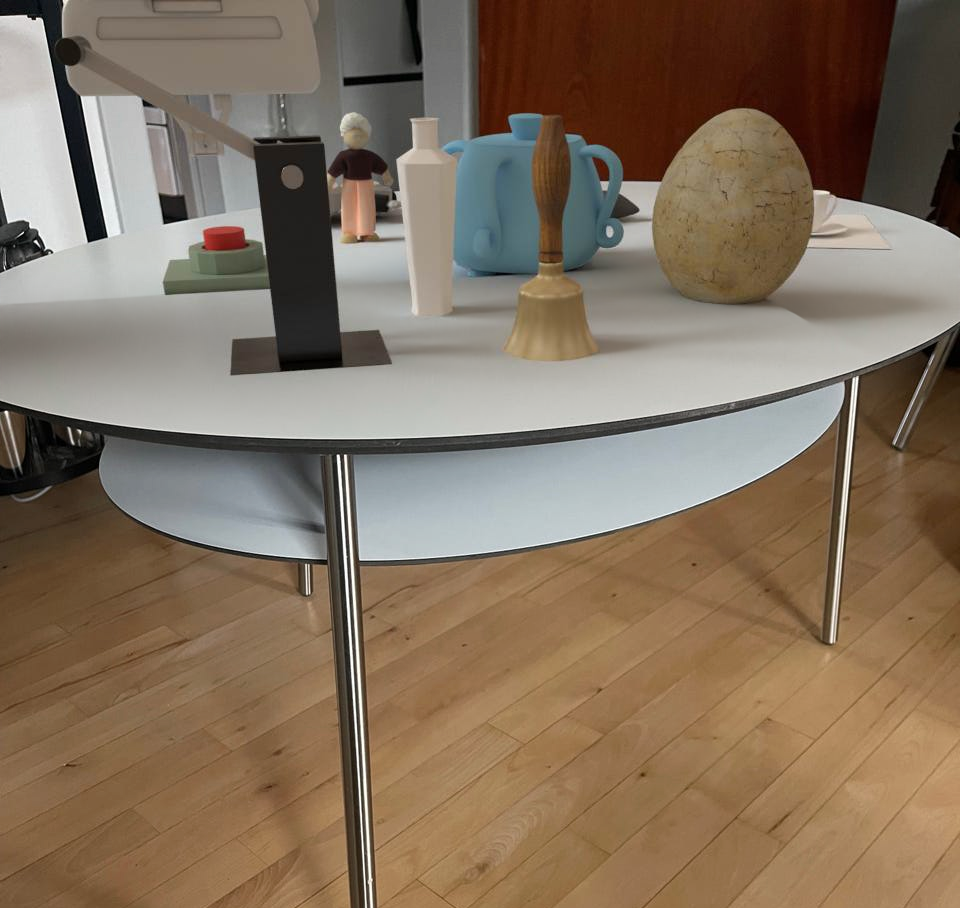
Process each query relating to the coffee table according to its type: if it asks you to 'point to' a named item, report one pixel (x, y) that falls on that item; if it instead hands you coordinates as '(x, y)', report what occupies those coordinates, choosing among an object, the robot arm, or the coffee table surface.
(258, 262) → the control block
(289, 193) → the bracket
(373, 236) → the grandmother figurine
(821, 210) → the teacup and saucer
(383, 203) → the robot toy
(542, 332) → the hand bell
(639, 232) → the coffee table surface
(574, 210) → the decorative pot
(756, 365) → the coffee table surface
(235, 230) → the button
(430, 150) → the white faceted vase
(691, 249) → the fossilized egg
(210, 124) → the lever
